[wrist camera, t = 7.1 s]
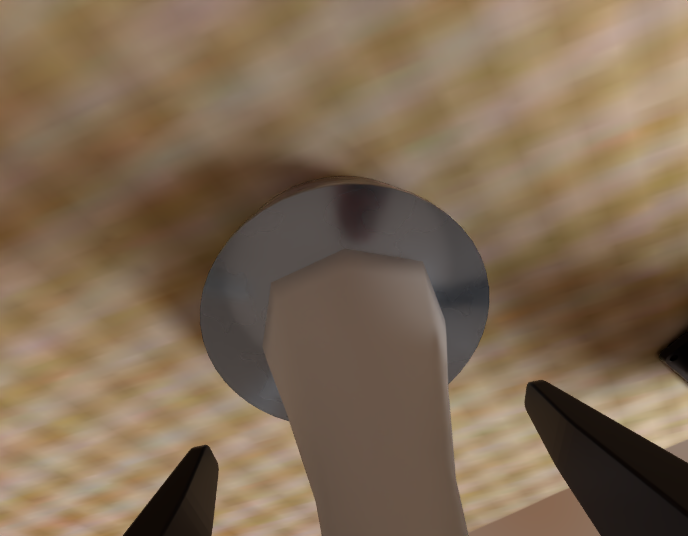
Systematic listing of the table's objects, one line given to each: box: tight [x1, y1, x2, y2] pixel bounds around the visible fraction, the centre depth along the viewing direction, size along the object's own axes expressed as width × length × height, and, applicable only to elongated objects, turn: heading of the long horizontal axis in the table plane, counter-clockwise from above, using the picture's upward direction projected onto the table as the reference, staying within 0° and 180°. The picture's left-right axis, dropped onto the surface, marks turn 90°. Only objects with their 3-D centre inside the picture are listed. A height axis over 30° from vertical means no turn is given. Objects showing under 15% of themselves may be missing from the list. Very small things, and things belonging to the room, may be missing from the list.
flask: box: [262, 249, 468, 536], centre depth 8 cm, size 7×7×10 cm
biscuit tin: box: [200, 176, 489, 421], centre depth 14 cm, size 11×11×4 cm
